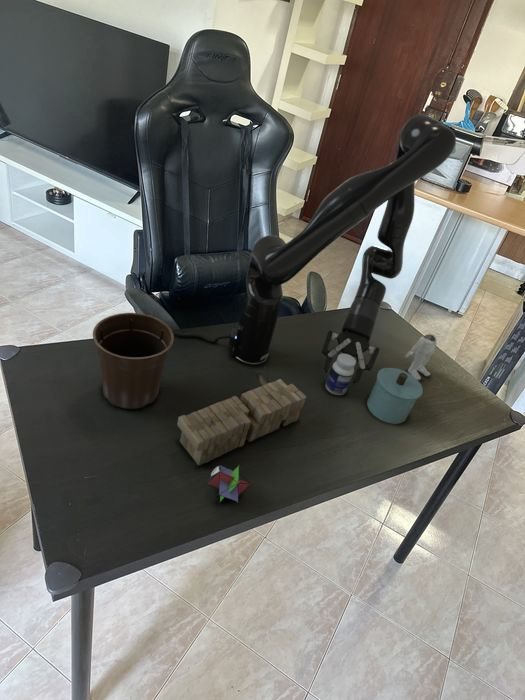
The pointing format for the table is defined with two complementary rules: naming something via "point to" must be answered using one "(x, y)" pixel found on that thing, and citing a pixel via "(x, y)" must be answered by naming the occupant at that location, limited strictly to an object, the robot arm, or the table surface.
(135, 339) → the plant pot
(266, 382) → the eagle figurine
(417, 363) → the toy creature
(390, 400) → the pot
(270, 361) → the table surface
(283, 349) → the table surface
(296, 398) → the block tower
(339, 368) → the pill bottle
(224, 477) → the geometric puzzle
